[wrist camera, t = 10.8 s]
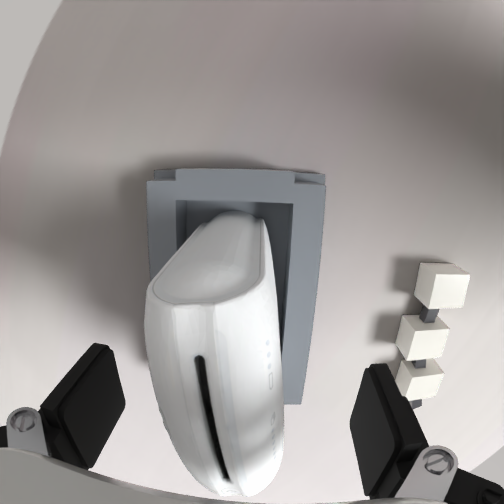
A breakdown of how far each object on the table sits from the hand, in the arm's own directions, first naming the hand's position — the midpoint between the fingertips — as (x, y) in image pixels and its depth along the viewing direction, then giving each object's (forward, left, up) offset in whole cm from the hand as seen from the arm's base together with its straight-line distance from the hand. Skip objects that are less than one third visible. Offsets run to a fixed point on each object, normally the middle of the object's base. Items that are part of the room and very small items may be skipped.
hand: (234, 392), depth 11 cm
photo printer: (0, 0, -10) cm, 10 cm away
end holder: (+1, 0, -10) cm, 10 cm away
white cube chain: (-13, +4, -10) cm, 17 cm away
